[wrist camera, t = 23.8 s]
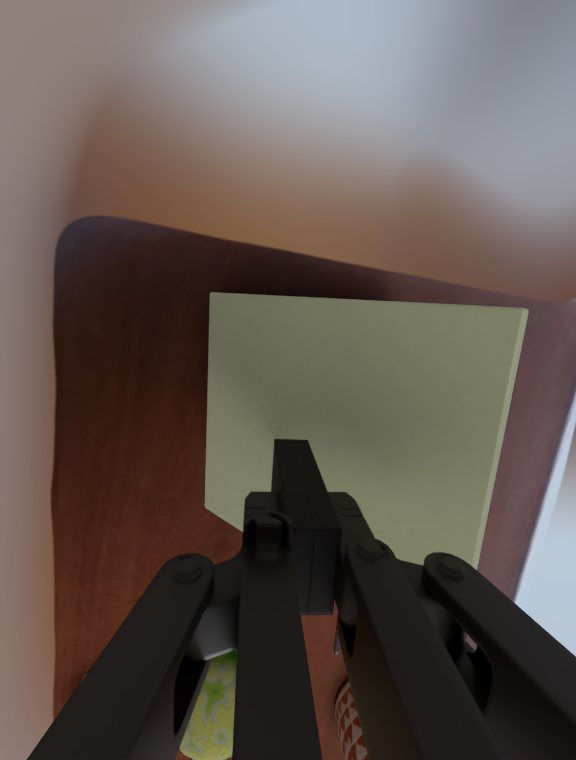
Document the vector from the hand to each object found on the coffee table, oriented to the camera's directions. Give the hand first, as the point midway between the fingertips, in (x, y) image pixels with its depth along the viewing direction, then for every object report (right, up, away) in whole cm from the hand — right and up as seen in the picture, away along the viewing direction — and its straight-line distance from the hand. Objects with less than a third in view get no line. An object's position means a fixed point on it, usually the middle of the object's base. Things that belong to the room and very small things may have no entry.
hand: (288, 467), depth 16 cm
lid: (+2, +1, +4) cm, 4 cm away
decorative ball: (-8, -29, +28) cm, 41 cm away
